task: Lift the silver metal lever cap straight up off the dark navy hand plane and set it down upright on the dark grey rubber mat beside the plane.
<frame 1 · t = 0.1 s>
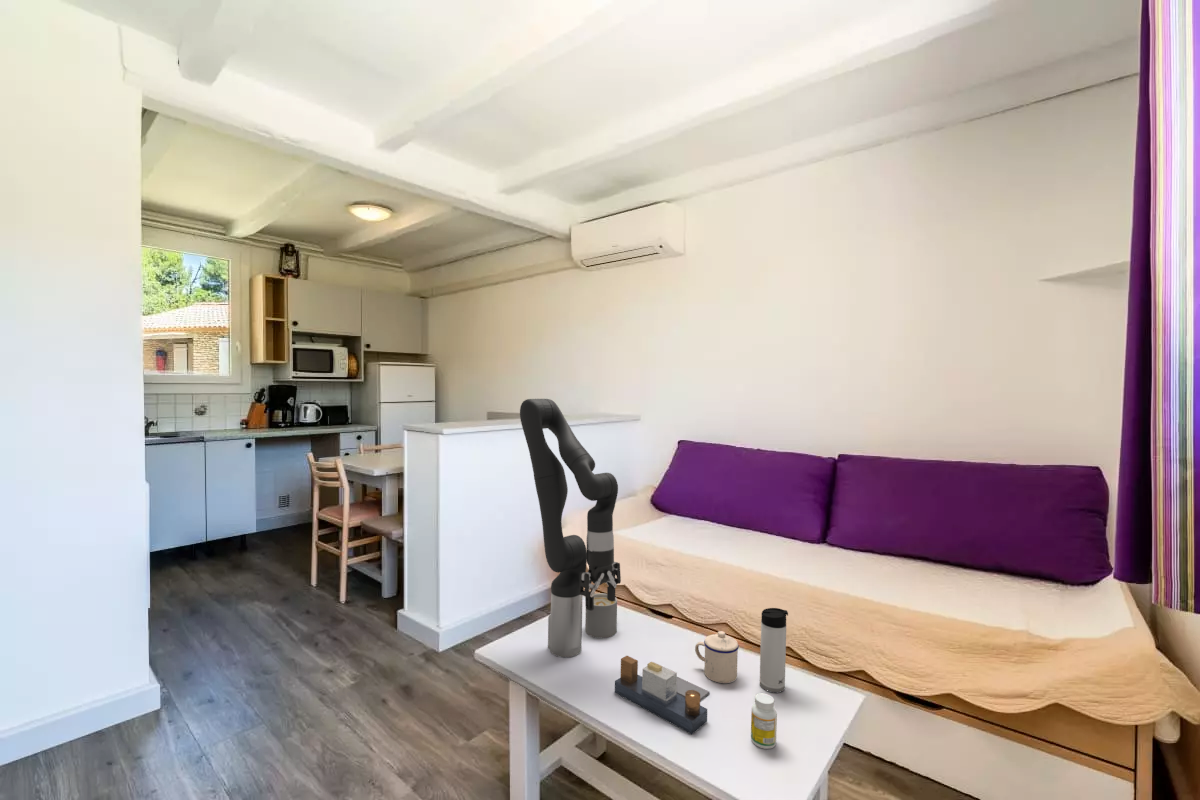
hand: (600, 605, 145), 17 cm above the table, tool pointing down, fingers open, 8 cm apart
hand plane: (658, 706, 128), on the table
rubber mat: (682, 689, 135), on the table
supplement bottle: (763, 742, 116), on the table
teacup with lid: (715, 673, 143), on the table
lever cap: (659, 691, 128), point 4 cm above the table, touching hand plane
travel mug: (772, 687, 137), on the table
coffee mug: (604, 629, 168), on the table
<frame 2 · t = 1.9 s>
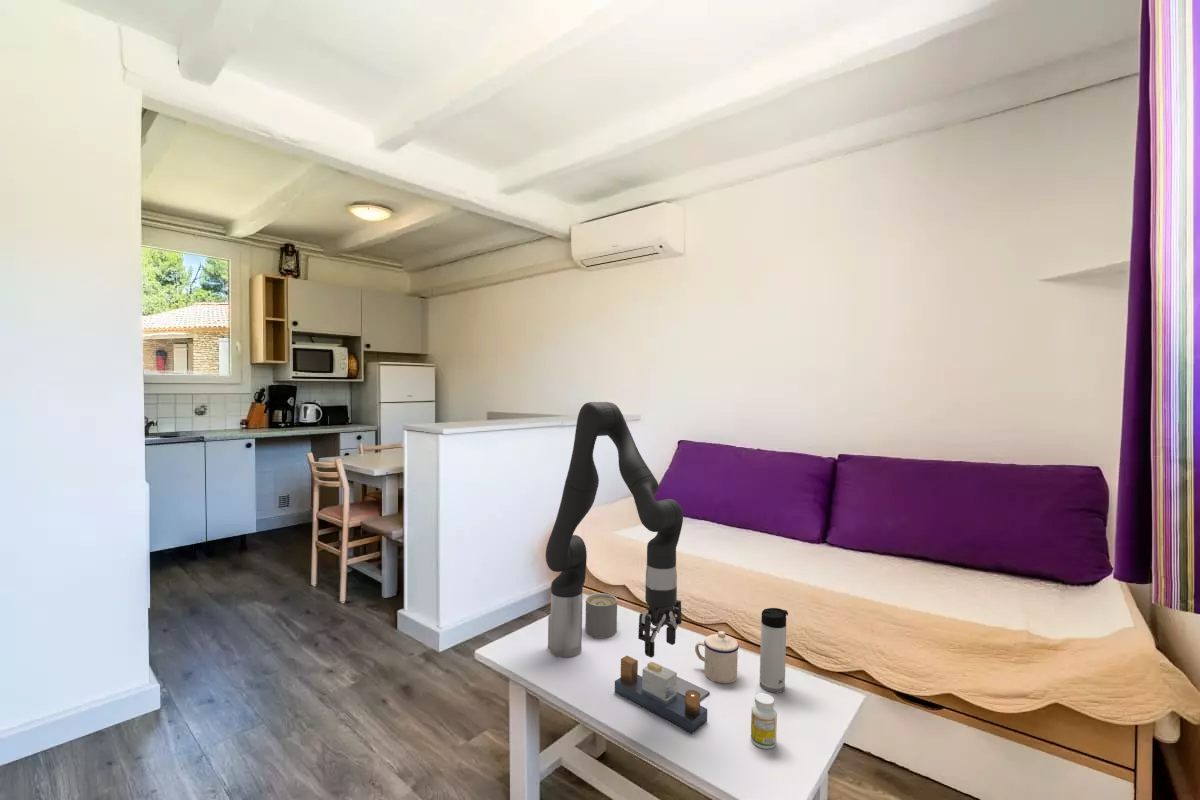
hand: (660, 649, 127), 14 cm above the table, tool pointing down, fingers open, 8 cm apart
nothing on the table moved.
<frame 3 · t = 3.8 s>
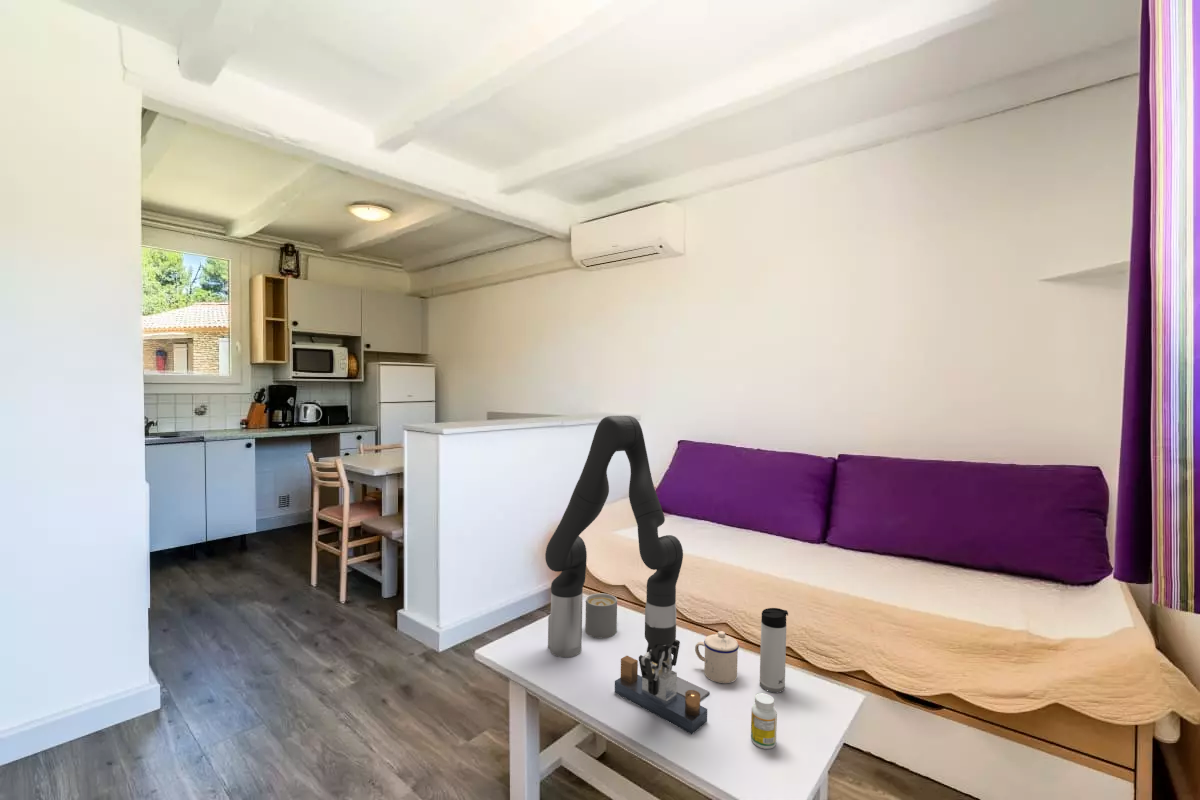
hand: (659, 689, 128), 4 cm above the table, tool pointing down, fingers closed on lever cap, 4 cm apart
lever cap: (659, 691, 128), point 4 cm above the table, touching gripper, hand plane
everything else where it was.
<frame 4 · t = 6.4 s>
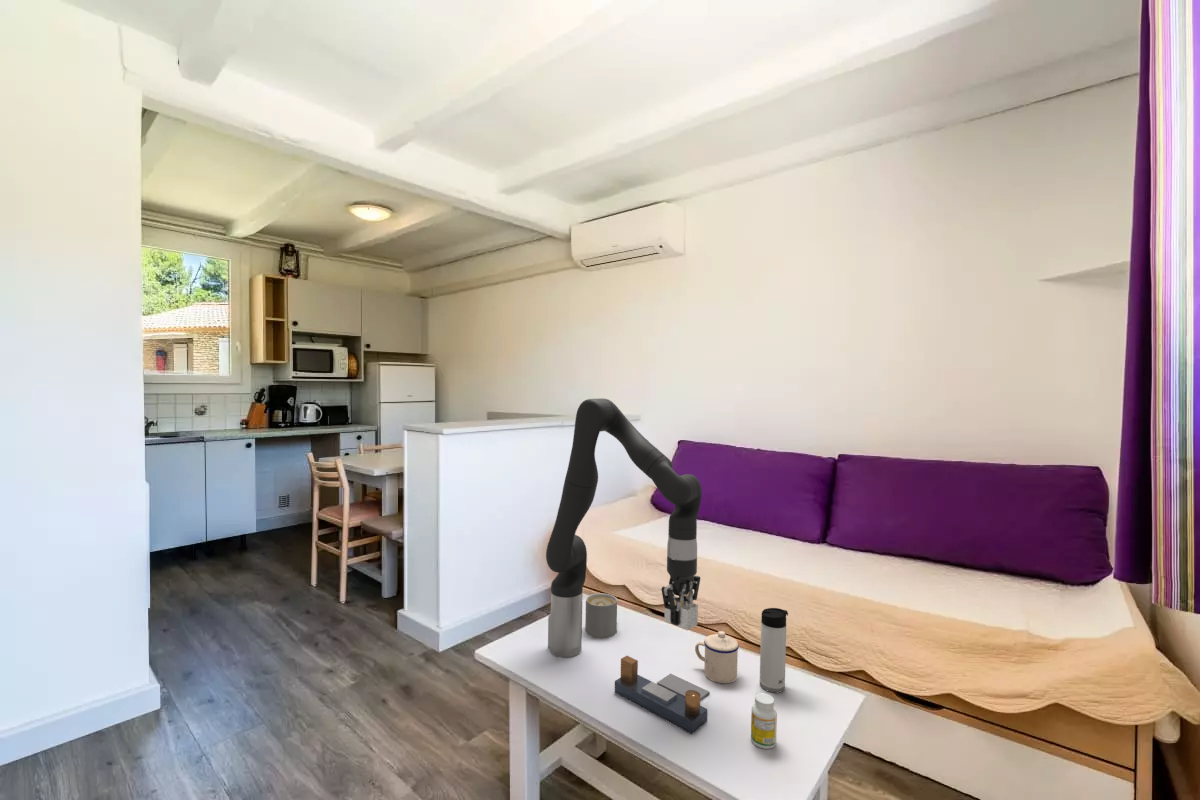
hand: (680, 621, 133), 18 cm above the table, tool pointing down, fingers closed on lever cap, 4 cm apart
lever cap: (680, 623, 133), point 18 cm above the table, touching gripper
everything else where it was.
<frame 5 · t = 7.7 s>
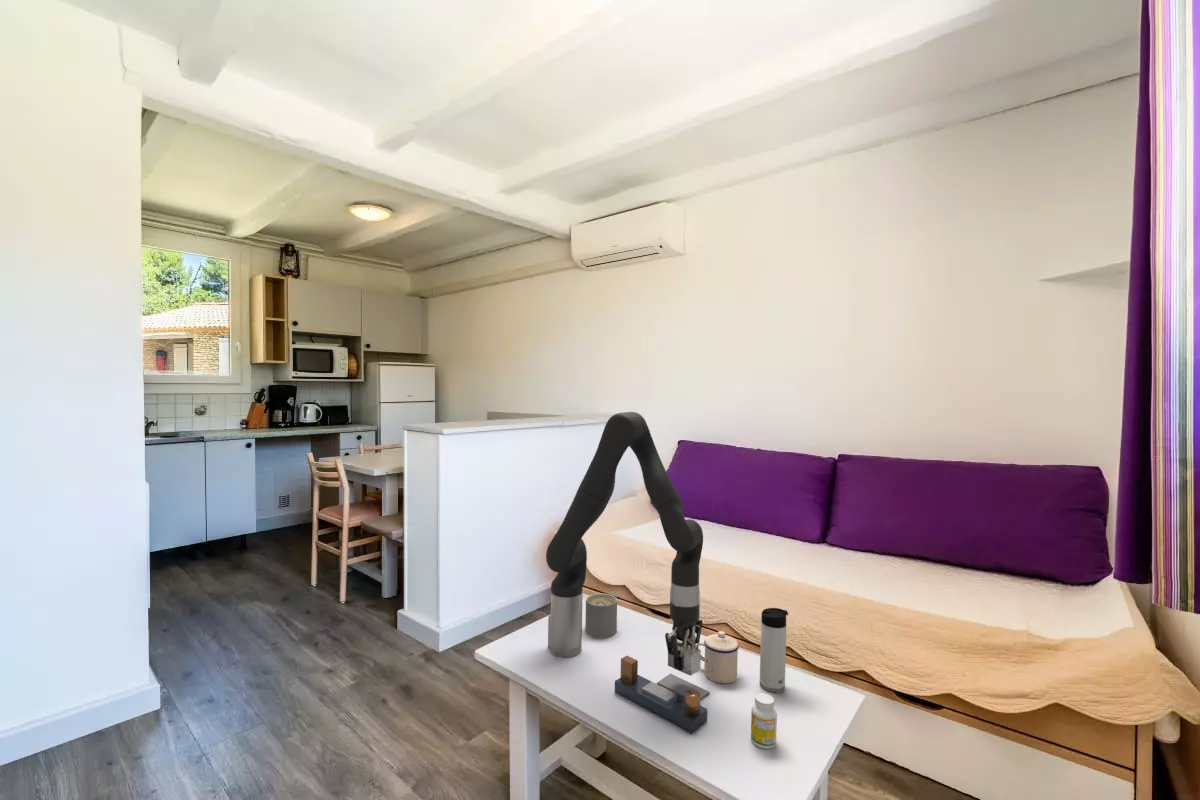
hand: (683, 665, 135), 6 cm above the table, tool pointing down, fingers closed on lever cap, 4 cm apart
lever cap: (684, 667, 135), point 6 cm above the table, touching gripper
everything else where it was.
when the fingers open (2 cm above the table, at t = 8.9 s): lever cap drops 1 cm, resting on rubber mat.
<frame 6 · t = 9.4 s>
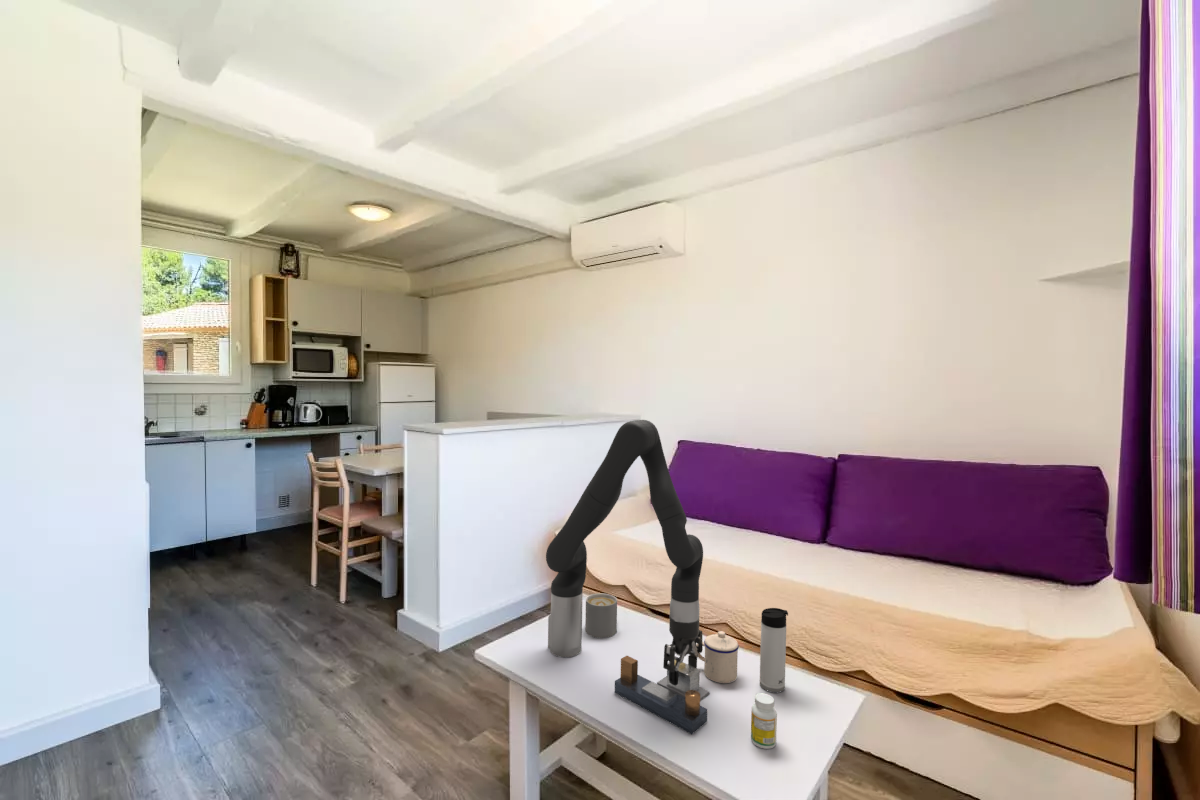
hand: (683, 677, 135), 3 cm above the table, tool pointing down, fingers open, 8 cm apart
lever cap: (682, 687, 135), point 1 cm above the table, touching rubber mat
everything else where it was.
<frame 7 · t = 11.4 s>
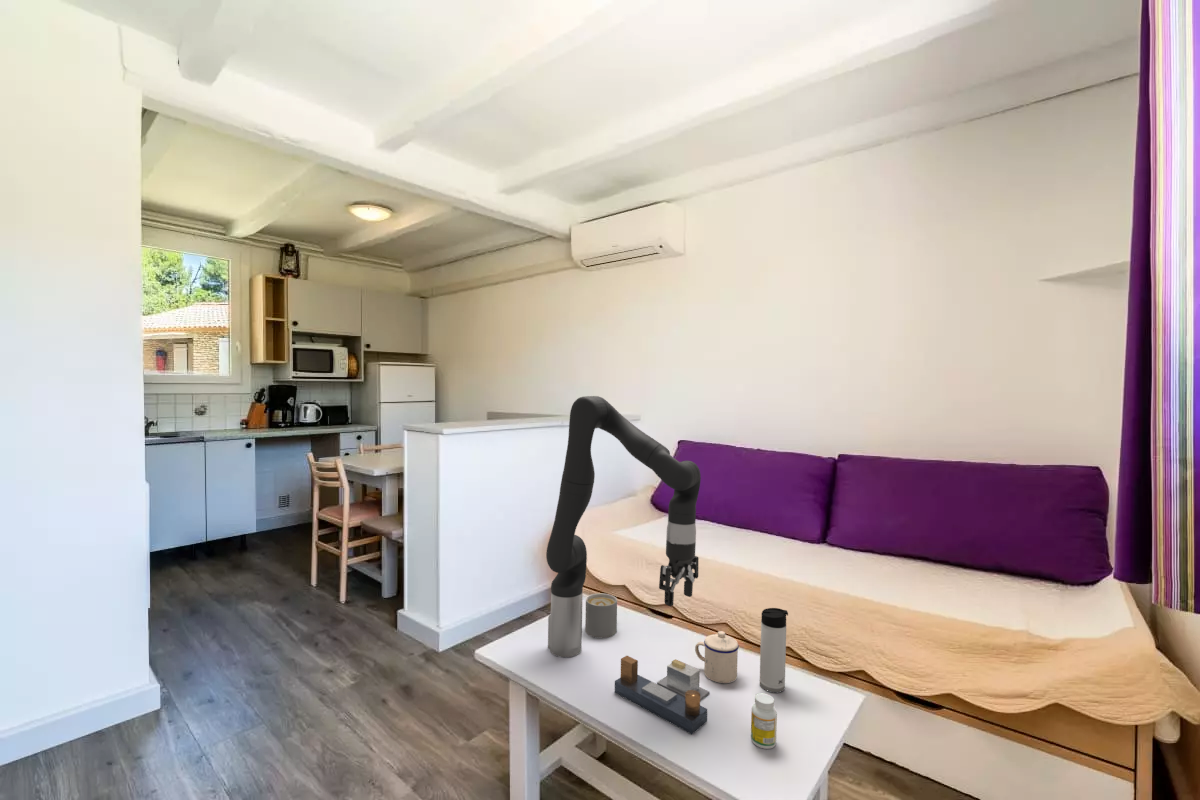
hand: (678, 600, 137), 22 cm above the table, tool pointing down, fingers open, 8 cm apart
nothing on the table moved.
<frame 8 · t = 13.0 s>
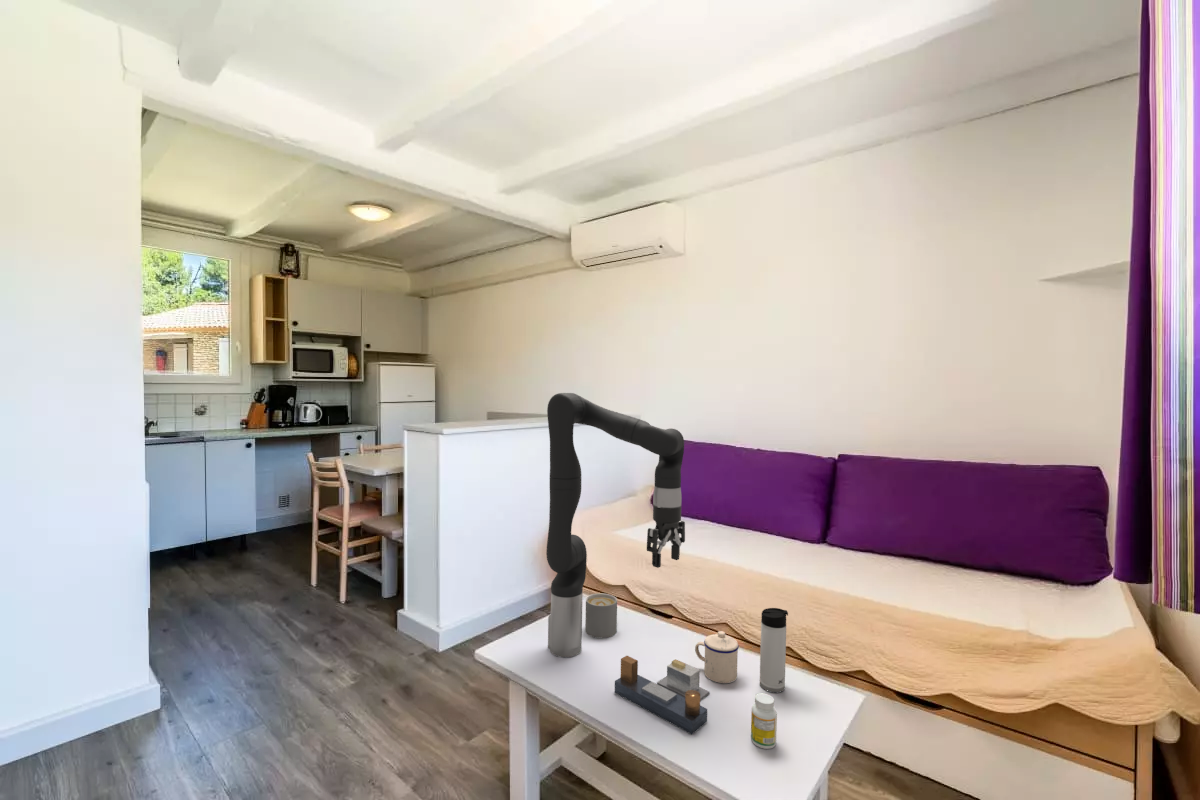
hand: (666, 563, 142), 30 cm above the table, tool pointing down, fingers open, 8 cm apart
nothing on the table moved.
at the end: lever cap inside the target area (0.0 cm from its centre), point 0.6 cm above the table; lever cap tilted 0°; the gripper is holding nothing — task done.
